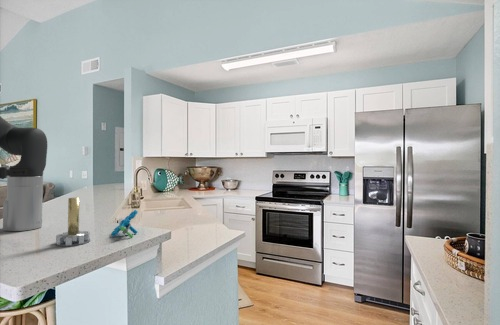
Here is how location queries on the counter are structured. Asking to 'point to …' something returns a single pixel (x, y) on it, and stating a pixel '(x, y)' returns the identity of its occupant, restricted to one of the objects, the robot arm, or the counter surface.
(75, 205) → the gear
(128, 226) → the blue splat disc
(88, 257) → the counter surface
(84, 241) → the pad
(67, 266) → the counter surface
